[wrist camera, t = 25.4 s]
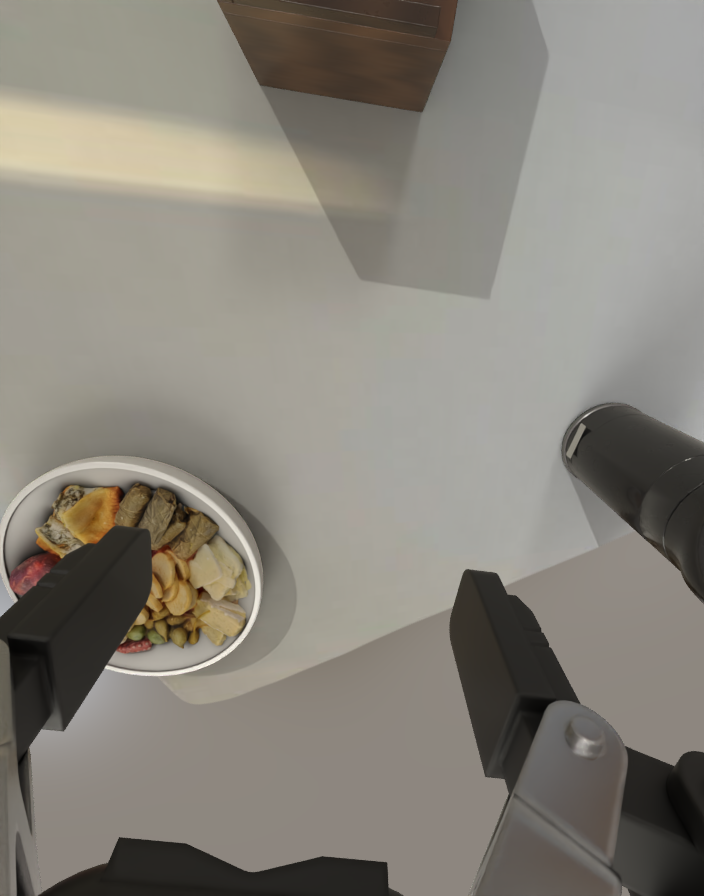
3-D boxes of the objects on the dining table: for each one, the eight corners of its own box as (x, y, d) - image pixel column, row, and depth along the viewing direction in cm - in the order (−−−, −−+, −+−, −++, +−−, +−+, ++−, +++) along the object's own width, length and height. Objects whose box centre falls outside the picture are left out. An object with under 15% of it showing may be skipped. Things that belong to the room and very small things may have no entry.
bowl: (184, 402, 47) (152, 425, 39) (310, 602, 57) (303, 650, 49) (-26, 503, 52) (-89, 540, 44) (124, 671, 62) (92, 724, 54)
